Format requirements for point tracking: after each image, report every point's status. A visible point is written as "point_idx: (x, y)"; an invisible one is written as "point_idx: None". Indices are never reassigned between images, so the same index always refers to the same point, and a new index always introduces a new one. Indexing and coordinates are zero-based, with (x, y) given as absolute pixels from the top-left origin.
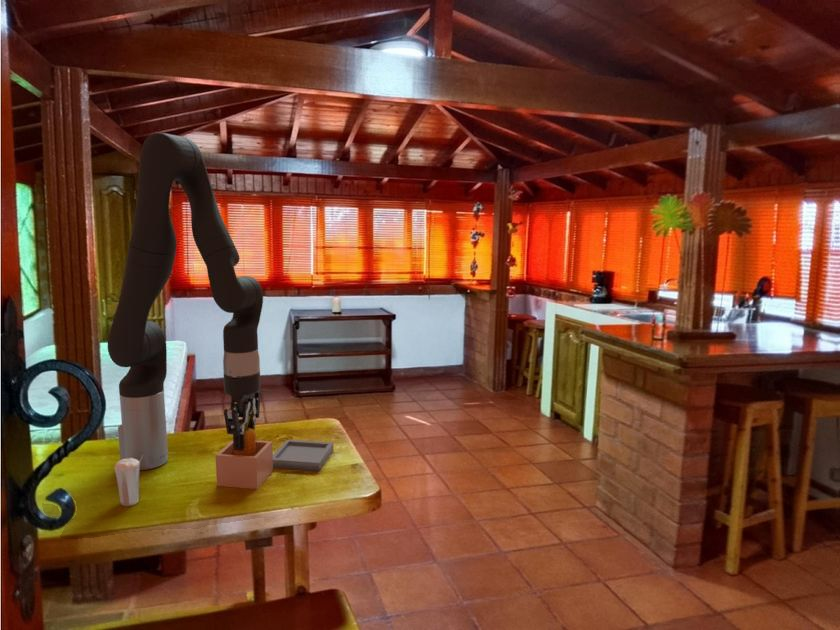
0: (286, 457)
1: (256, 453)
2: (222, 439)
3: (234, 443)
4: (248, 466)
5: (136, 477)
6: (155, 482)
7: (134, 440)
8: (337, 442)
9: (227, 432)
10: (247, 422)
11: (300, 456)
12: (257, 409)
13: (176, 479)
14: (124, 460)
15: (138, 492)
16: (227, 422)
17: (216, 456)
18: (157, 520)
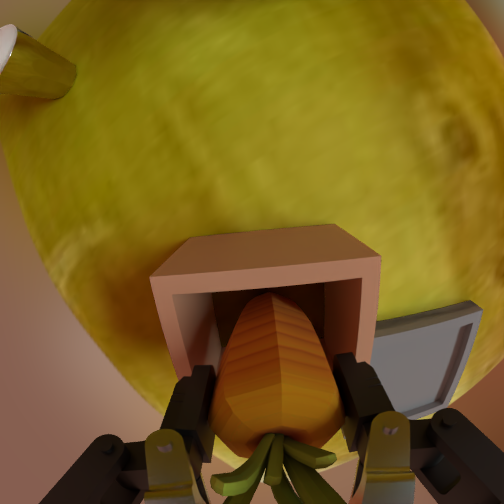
0: (393, 358)
1: (340, 340)
2: (484, 94)
3: (173, 399)
4: None
5: (8, 92)
6: (165, 41)
7: None
8: (471, 380)
9: (93, 444)
10: (274, 497)
11: (397, 382)
12: (430, 493)
13: (197, 79)
14: None
15: (47, 93)
16: (58, 497)
17: (152, 279)
18: (23, 205)
